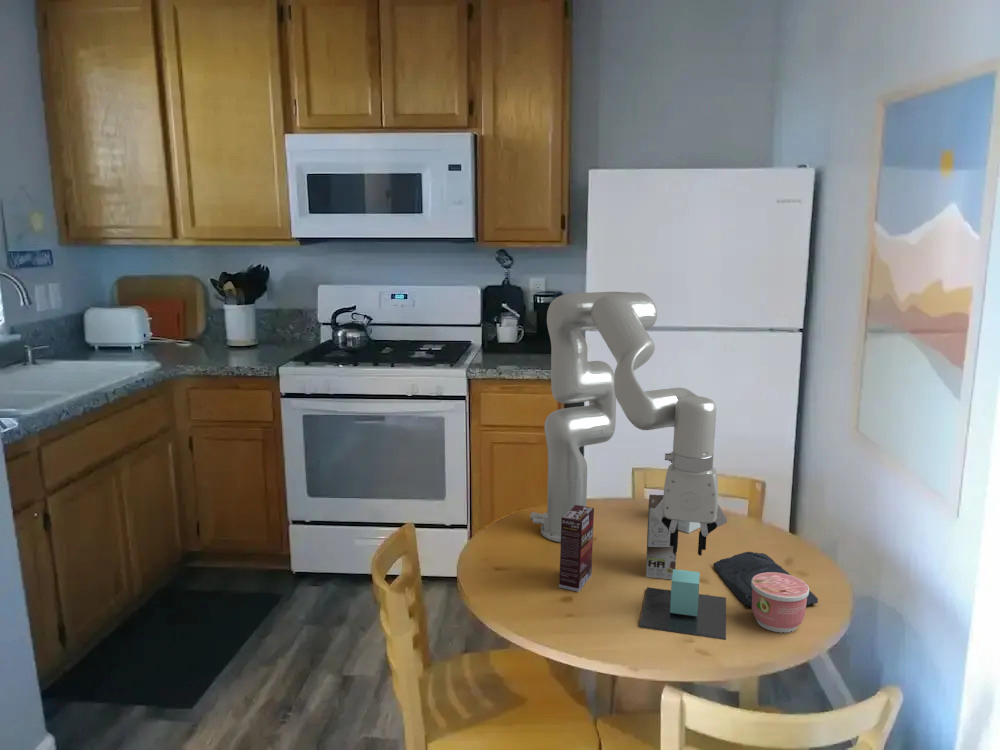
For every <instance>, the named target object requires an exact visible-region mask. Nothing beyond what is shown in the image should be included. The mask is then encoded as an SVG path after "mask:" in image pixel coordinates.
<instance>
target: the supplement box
mask: <svg viewBox="0 0 1000 750" xmlns="http://www.w3.org/2000/svg"><path fill="white" fill-rule="evenodd" d="M594 512H595V508H594V507H589V506H587V505H586V506H580V505H574V507H573V508H572V509H571V510H570V511H569V512H568V513H567V514H566V515H565V516H563V517H562V519H561V542H560V552H559V553H560V554H559V555H560V557H559V577H558V578H559V579H558V581H559V582H558V588H559V589H563V590H568V591H571V592H576V593H579V592H581V590H582V588H583V587H584V585H585V584H586V583H587V582H588V580H589V579H590V578H591V577H592V571H593V570H592V569H593V568H592V567H593V544H594V517H595V516H594V515H595V513H594Z"/></svg>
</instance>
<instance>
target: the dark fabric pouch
mask: <svg viewBox="0 0 1000 750" xmlns="http://www.w3.org/2000/svg"><path fill="white" fill-rule="evenodd" d="M713 566H714V569H715V570H716V571H717V574H718V575H719V577H720V578H721V579H722V581H723V583H725V585H726V586H727V587H728V588H729V589H730V590H731V591H732V592H733V593H734V595H735V596H736V597H737V598H738V600H739V601H741V602H742V604H743V605H745V606H747V607H750V608H752V586H751V581H752V578H753V577H754V576H755V575H757V574H760V573H766V572H777V573H784V574H788V575H791V574H790V573H789V571H787V570H785V569H784V568H783V567H782V566H780V565H779V564H778V563H776V562H775V560H773V559H772V558H771V556H768V555H767V554H766V553H762V552H753V551H745V552H742V553H741V552H740V553H738V554H735V555H732V556H731V557H725V558H721V559H719V560H717V561H716V562H714V563H713ZM818 603H819V600H818V597H817V596H816V594H814V593H813V592H812V591H811V590H810V589H809V595H808V596H807V603H806V607H808V606H810V605H811V604H812V605H813V604H818Z"/></svg>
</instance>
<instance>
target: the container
mask: <svg viewBox="0 0 1000 750" xmlns="http://www.w3.org/2000/svg"><path fill="white" fill-rule="evenodd" d="M751 586H752V607H751V611H752V614H753V616H754V618H755V619H756V622H757V624H758V625H760V626H761V627H762V628H764V629H766V630H768V631H771V632H775V633H783V632H784V634H785V633H792V632H794V631H795V629H796V628H797V629H798V626H800V625H801V624H802V623H803V621H804V620H805V619H804V618H805V615H806V611H807V610H806V608H807V606H806V603H807V596H808V595H809V590H810V587H809V585H808V584H807V583H806V582H805V581H804V580H803V579H800V578H799V577H796V576H794V575H791V574H790V575H788V574H784V573H777V572H766V573H760V574H757V575H755V576H754V577H753V578H752V581H751ZM797 629H796V630H797ZM791 631H792V632H791Z"/></svg>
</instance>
